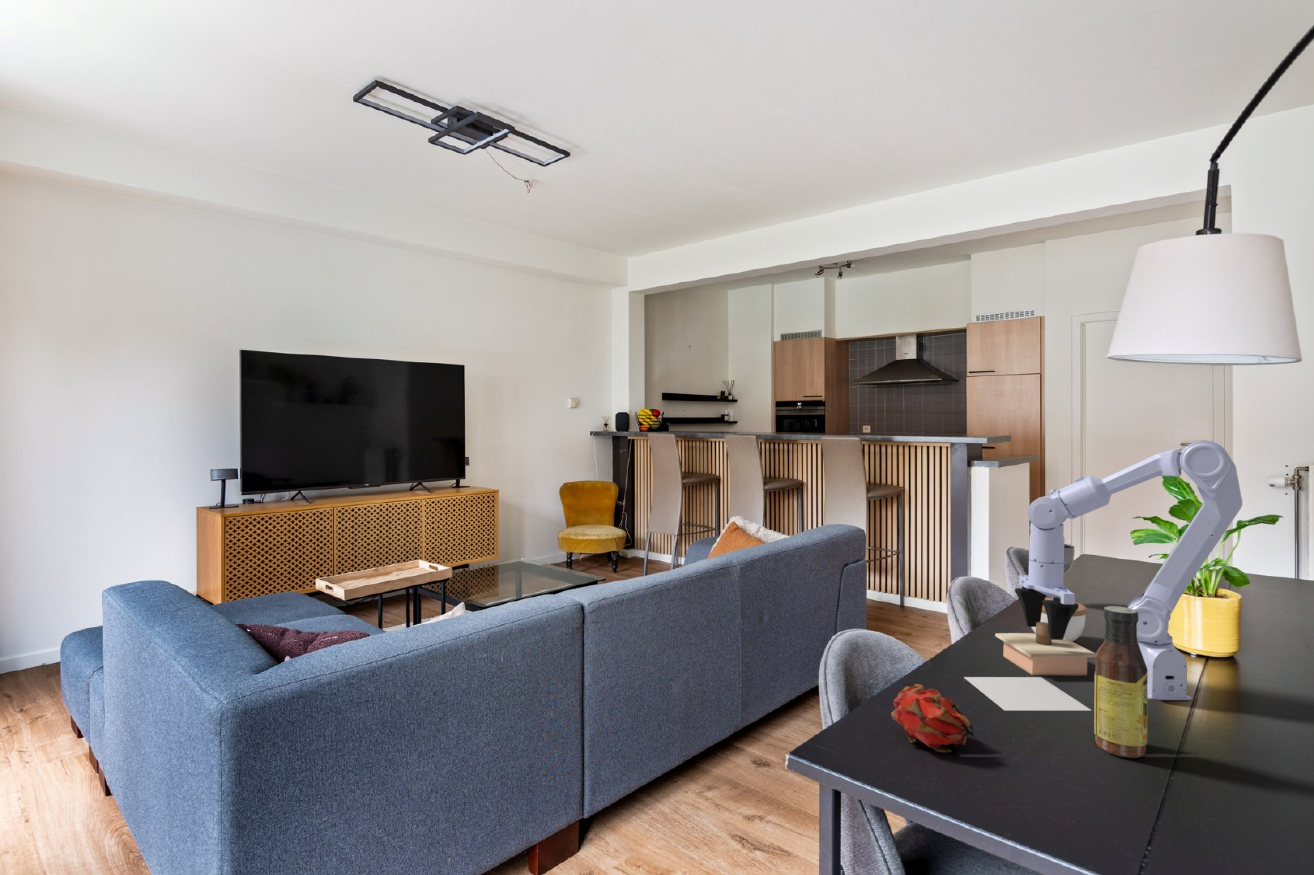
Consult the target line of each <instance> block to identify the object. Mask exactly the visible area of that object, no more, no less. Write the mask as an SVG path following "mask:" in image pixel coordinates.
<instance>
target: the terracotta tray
mask: <svg viewBox="0 0 1314 875" xmlns="http://www.w3.org/2000/svg"><path fill="white" fill-rule="evenodd" d="M1002 651H1003V657H1004V658H1005V659H1006V660H1008V661H1010V662H1011V663H1012V664H1015V665H1016V666H1017V667H1019V668H1020V669H1022V670H1023V671H1025V672H1026V673H1028V674H1029V675H1031V676H1073V677H1074V676H1078V677H1079V676H1085V677H1086V676H1088V657H1029V656H1028V655H1026V654H1024V653H1023V652H1021V651H1019V650H1017V649H1016V648H1014V647H1012V646H1011V645H1009V644H1007V643H1006V642H1004V641H1003V650H1002Z"/></svg>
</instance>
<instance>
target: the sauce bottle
mask: <svg viewBox="0 0 1314 875" xmlns="http://www.w3.org/2000/svg"><path fill="white" fill-rule="evenodd" d="M1103 617H1104V621H1105V622H1104V624H1105V627H1104V629H1105V630H1104V640H1103V643H1102V644H1101V645H1100V646H1099V647H1098V649H1097V650H1096V652H1095V654H1096V657H1095V671H1094V695H1093V696H1094V700H1093V702H1094V703H1093V704H1094V705H1093V706H1094V710H1093V711H1094V712H1093V713H1094V722H1093V723H1094V725H1093V726H1094V727H1093V728H1094V729H1093V731H1094V735H1095V743H1096V745H1097V747H1098V748H1100V749H1101V750H1104V751H1106V752H1108V753H1110V754H1112V755H1113V756H1116V757H1117V756H1118V757H1121V758H1129V759H1130V758H1131V759H1137V758H1142V757H1144V755H1145V754H1146V751H1147V749H1146V748H1147V747H1146V746H1147V744H1148V713H1149V712H1148V710H1149V709H1148V705H1149V704H1148V701H1149V699H1148V690H1147V689H1148V688H1147V683H1148V681H1147V679H1148V670H1147V667H1146V664H1145V661H1144V658H1143V655H1142V653H1141V650H1140V647H1139V644H1138V642H1137V622H1138V620H1139V619H1138V612H1137V611H1136V610H1134V609H1130V608H1127V607H1126V606H1125V607H1124V606H1118V605H1117V606H1116V605H1115V606H1114V605H1110V606H1104V607H1103Z"/></svg>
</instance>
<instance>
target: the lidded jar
mask: <svg viewBox="0 0 1314 875" xmlns="http://www.w3.org/2000/svg"><path fill="white" fill-rule="evenodd" d="M1045 600H1053V598H1052V597H1046V598H1045ZM1075 603H1077V604H1078V609H1077V610H1076V611H1075V613H1074V614H1073V616H1072V617H1071V619H1070V621H1069V623H1068V626H1067V629H1066V632H1065V635H1064V638H1066V639H1068V640H1070V641H1072V642H1074V641H1076V640H1077V639H1078V638H1080V637H1081V635H1082V633H1083V631H1084V628H1085V625H1086V624H1085V622H1086V614H1087V607H1086V606H1085V605H1083V604H1081V603H1079V602H1076V601H1075ZM1041 622H1045V623H1048V619H1047V614H1046V611H1045V608H1044V605H1043V607H1042V614H1041ZM1030 628H1031V630H1032V631H1033V633H1036V627H1030Z"/></svg>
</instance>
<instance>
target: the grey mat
mask: <svg viewBox="0 0 1314 875" xmlns="http://www.w3.org/2000/svg"><path fill="white" fill-rule="evenodd" d="M963 679H965V680H966V681H967V682H969V683H970V684H971V685H972V686H973V687H975V688H976V689H978V690H979V692H981V693H982V694H984V695H985V696H986V697H987V698H988V699H989V700H991V701H992V702H993V703H995V705H997V706H998V707H999V708H1001V709H1002V710H1003V711H1006V712H1007V711H1009V712H1010V711H1012V712H1013V711H1015V712H1018V711H1021V712H1022V711H1023V712H1024V711H1025V712H1027V711H1028V712H1029V711H1030V712H1033V711H1034V712H1036V711H1037V712H1038V711H1039V712H1040V711H1041V712H1043V711H1044V712H1045V711H1046V712H1051V711H1052V712H1054V711H1055V712H1056V711H1057V712H1059V711H1062V712H1063V711H1064V712H1065V711H1067V712H1068V711H1070V712H1073V711H1075V712H1078V711H1079V712H1082V711H1083V712H1084V711H1085V712H1088V711H1090V712H1091V711H1092V709H1090V708H1089V707H1088V706H1086V705H1084V703H1083V704H1082V703H1081V702H1080V701H1078V700H1077V699H1075V698H1074V697H1072V696H1070V695H1069V694H1067V693H1066V692H1064V691H1062V690H1061V689H1059V688H1058V687H1057V686H1056V685H1054V684H1052V683H1051V682H1049V681H1048V680H1046V679H1044V678H1043V677H1041V676H1025V677H1024V676H1022V677H1021V676H1019V677H1018V676H1013V677H1012V676H1006V677H1005V676H998V677H997V676H973V677H972V676H964V677H963Z"/></svg>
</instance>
